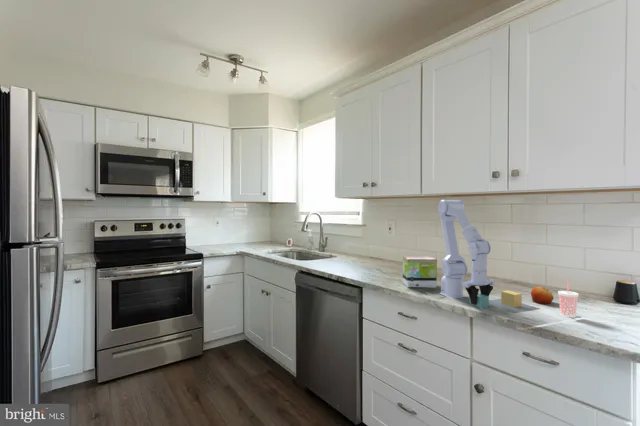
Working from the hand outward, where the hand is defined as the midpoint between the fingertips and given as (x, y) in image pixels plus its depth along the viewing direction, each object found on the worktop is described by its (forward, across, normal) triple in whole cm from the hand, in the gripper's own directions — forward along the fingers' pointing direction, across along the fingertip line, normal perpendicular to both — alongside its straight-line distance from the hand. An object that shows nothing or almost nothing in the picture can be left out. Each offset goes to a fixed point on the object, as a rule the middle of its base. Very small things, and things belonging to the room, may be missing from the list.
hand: (478, 303), depth 135 cm
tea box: (+2, 0, +39) cm, 39 cm away
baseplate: (+1, +12, -4) cm, 13 cm away
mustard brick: (+1, +13, -4) cm, 14 cm away
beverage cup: (+2, +21, -21) cm, 30 cm away
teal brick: (+2, 0, 0) cm, 2 cm away
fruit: (+2, +28, -6) cm, 29 cm away
